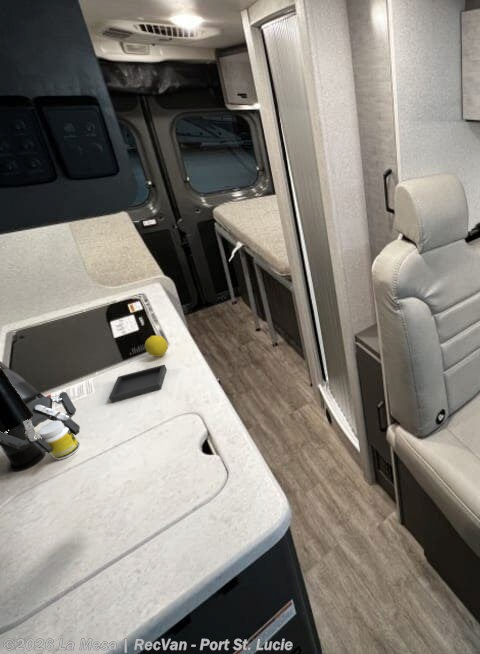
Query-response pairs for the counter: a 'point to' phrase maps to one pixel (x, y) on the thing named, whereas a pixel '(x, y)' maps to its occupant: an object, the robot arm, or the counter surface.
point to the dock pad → (138, 383)
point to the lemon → (156, 345)
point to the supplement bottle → (59, 439)
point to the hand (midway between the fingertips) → (64, 441)
